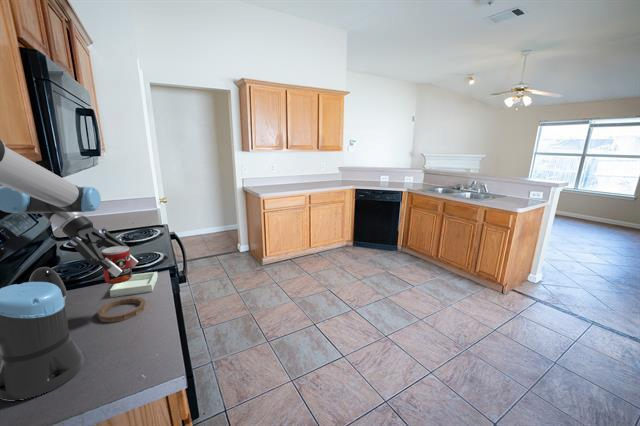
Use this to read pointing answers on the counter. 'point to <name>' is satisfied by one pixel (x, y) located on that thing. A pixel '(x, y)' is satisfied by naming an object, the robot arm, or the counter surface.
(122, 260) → the canned food
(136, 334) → the counter surface
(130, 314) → the collar ring
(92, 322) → the counter surface
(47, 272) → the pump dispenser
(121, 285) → the tray
